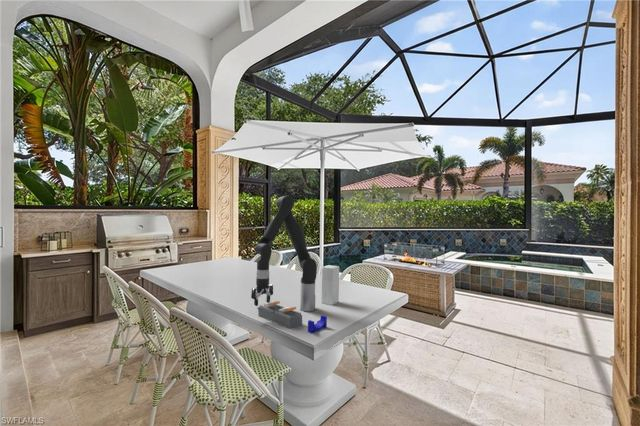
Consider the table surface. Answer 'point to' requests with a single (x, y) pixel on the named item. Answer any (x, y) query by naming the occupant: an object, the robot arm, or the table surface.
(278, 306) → the box
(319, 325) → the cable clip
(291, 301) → the table surface
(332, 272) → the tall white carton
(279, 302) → the rocker
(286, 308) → the block
